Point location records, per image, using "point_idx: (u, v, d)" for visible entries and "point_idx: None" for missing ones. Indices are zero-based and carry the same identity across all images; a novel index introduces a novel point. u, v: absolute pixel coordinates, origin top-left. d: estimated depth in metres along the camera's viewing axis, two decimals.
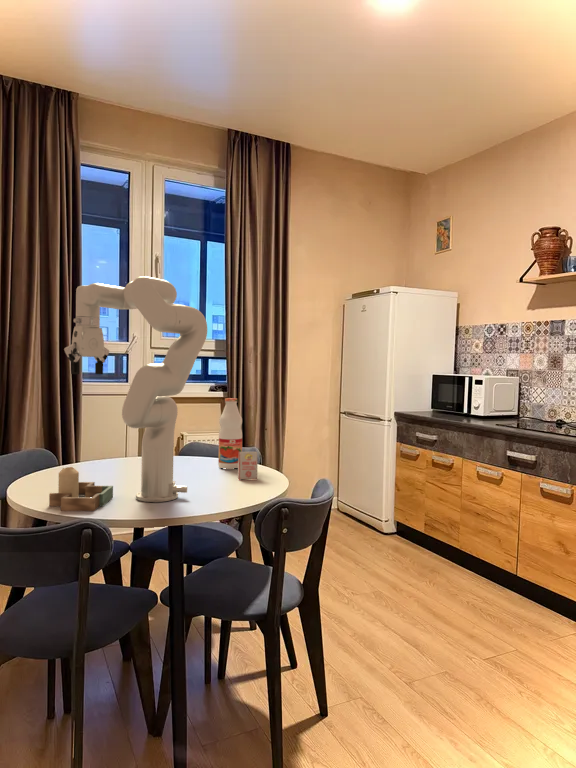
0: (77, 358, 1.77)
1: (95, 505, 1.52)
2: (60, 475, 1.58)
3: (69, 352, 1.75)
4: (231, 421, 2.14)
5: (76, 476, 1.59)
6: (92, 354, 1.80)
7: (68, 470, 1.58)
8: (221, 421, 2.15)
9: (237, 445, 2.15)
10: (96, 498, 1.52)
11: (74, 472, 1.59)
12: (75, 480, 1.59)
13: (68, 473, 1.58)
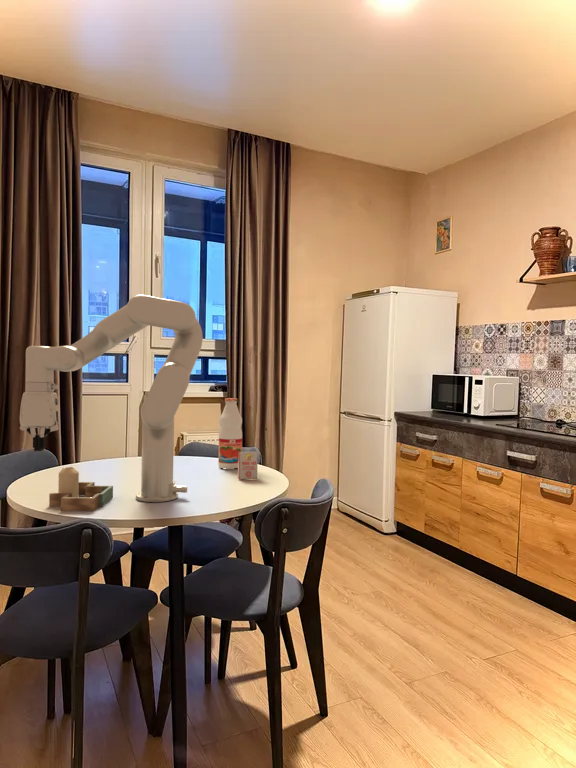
0: None
1: (95, 505, 1.52)
2: (60, 475, 1.58)
3: None
4: (231, 421, 2.14)
5: (76, 476, 1.59)
6: None
7: (68, 470, 1.58)
8: (221, 421, 2.15)
9: (237, 445, 2.15)
10: (96, 498, 1.52)
11: (74, 472, 1.59)
12: (75, 480, 1.59)
13: (68, 473, 1.58)
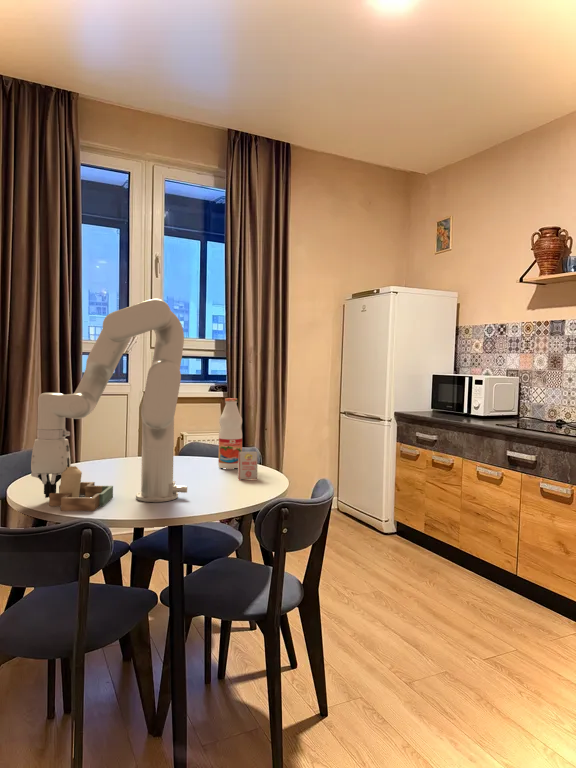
0: None
1: (95, 505, 1.52)
2: (63, 474, 1.58)
3: None
4: (231, 421, 2.14)
5: (79, 476, 1.59)
6: None
7: (72, 470, 1.58)
8: (221, 421, 2.15)
9: (237, 445, 2.15)
10: (96, 498, 1.52)
11: (77, 472, 1.59)
12: (77, 480, 1.59)
13: (71, 473, 1.58)
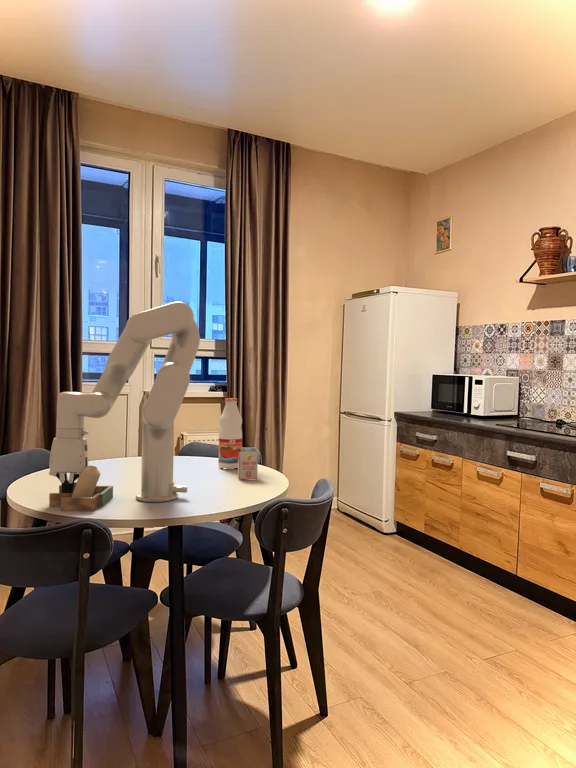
0: None
1: (95, 505, 1.52)
2: (83, 472, 1.58)
3: None
4: (231, 421, 2.14)
5: (97, 478, 1.59)
6: None
7: (92, 470, 1.58)
8: (221, 421, 2.15)
9: (237, 445, 2.15)
10: (96, 498, 1.52)
11: (96, 474, 1.59)
12: (95, 481, 1.59)
13: (91, 473, 1.58)
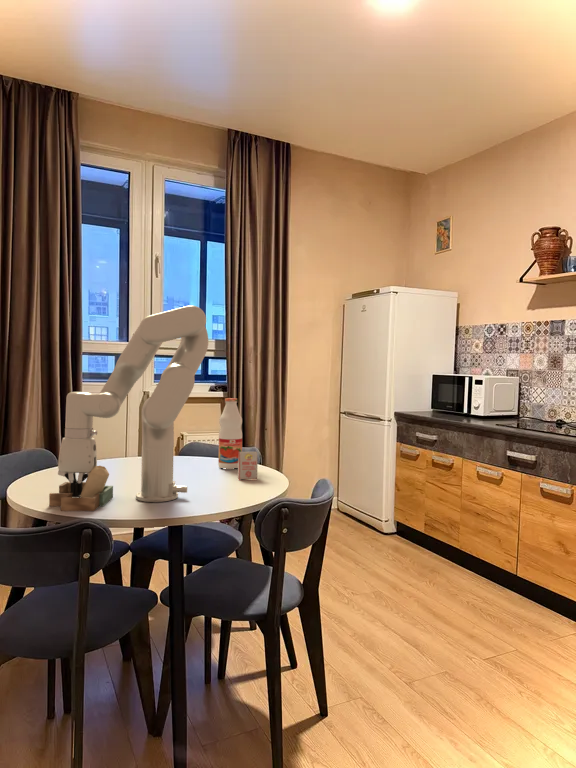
0: None
1: (95, 505, 1.52)
2: (92, 472, 1.58)
3: None
4: (231, 421, 2.14)
5: (106, 478, 1.60)
6: None
7: (101, 470, 1.59)
8: (221, 421, 2.15)
9: (237, 445, 2.15)
10: (96, 498, 1.52)
11: (105, 474, 1.59)
12: (104, 481, 1.59)
13: (100, 474, 1.58)
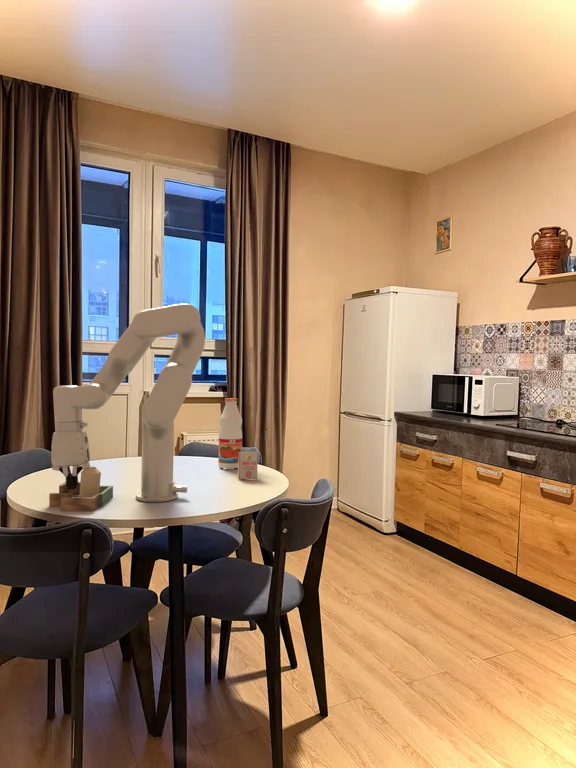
0: None
1: (95, 505, 1.52)
2: (83, 474, 1.58)
3: None
4: (231, 421, 2.14)
5: (98, 476, 1.60)
6: None
7: (91, 470, 1.59)
8: (221, 421, 2.15)
9: (237, 445, 2.15)
10: (96, 498, 1.52)
11: (96, 472, 1.59)
12: (97, 480, 1.59)
13: (91, 473, 1.58)
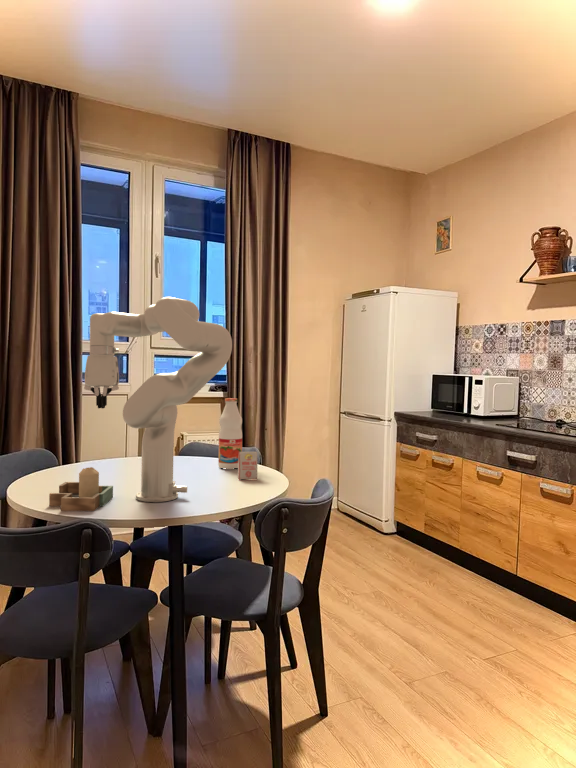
0: None
1: (95, 505, 1.52)
2: (81, 475, 1.58)
3: None
4: (231, 421, 2.14)
5: (96, 476, 1.60)
6: None
7: (89, 470, 1.59)
8: (221, 421, 2.15)
9: (237, 445, 2.15)
10: (96, 498, 1.52)
11: (94, 473, 1.59)
12: (96, 480, 1.59)
13: (89, 474, 1.58)
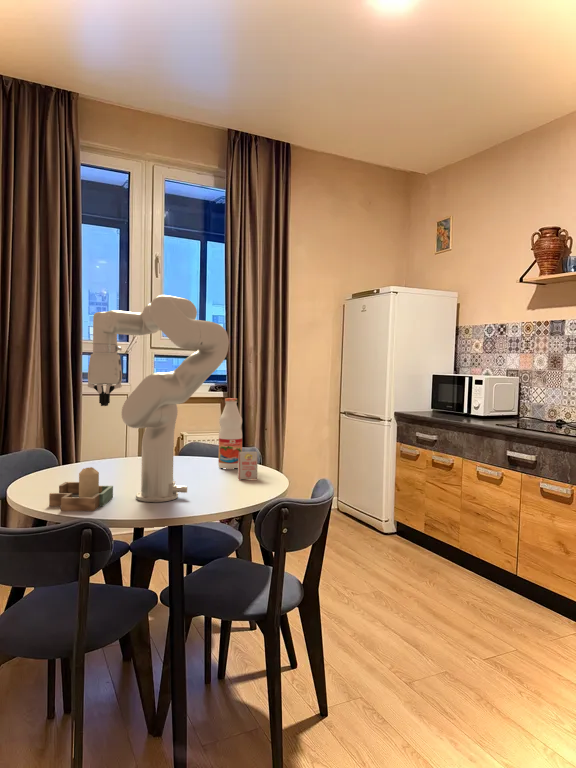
0: None
1: (95, 505, 1.52)
2: (81, 475, 1.58)
3: None
4: (231, 421, 2.14)
5: (96, 476, 1.60)
6: None
7: (89, 470, 1.59)
8: (221, 421, 2.15)
9: (237, 445, 2.15)
10: (96, 498, 1.52)
11: (94, 473, 1.59)
12: (95, 480, 1.59)
13: (89, 474, 1.58)
